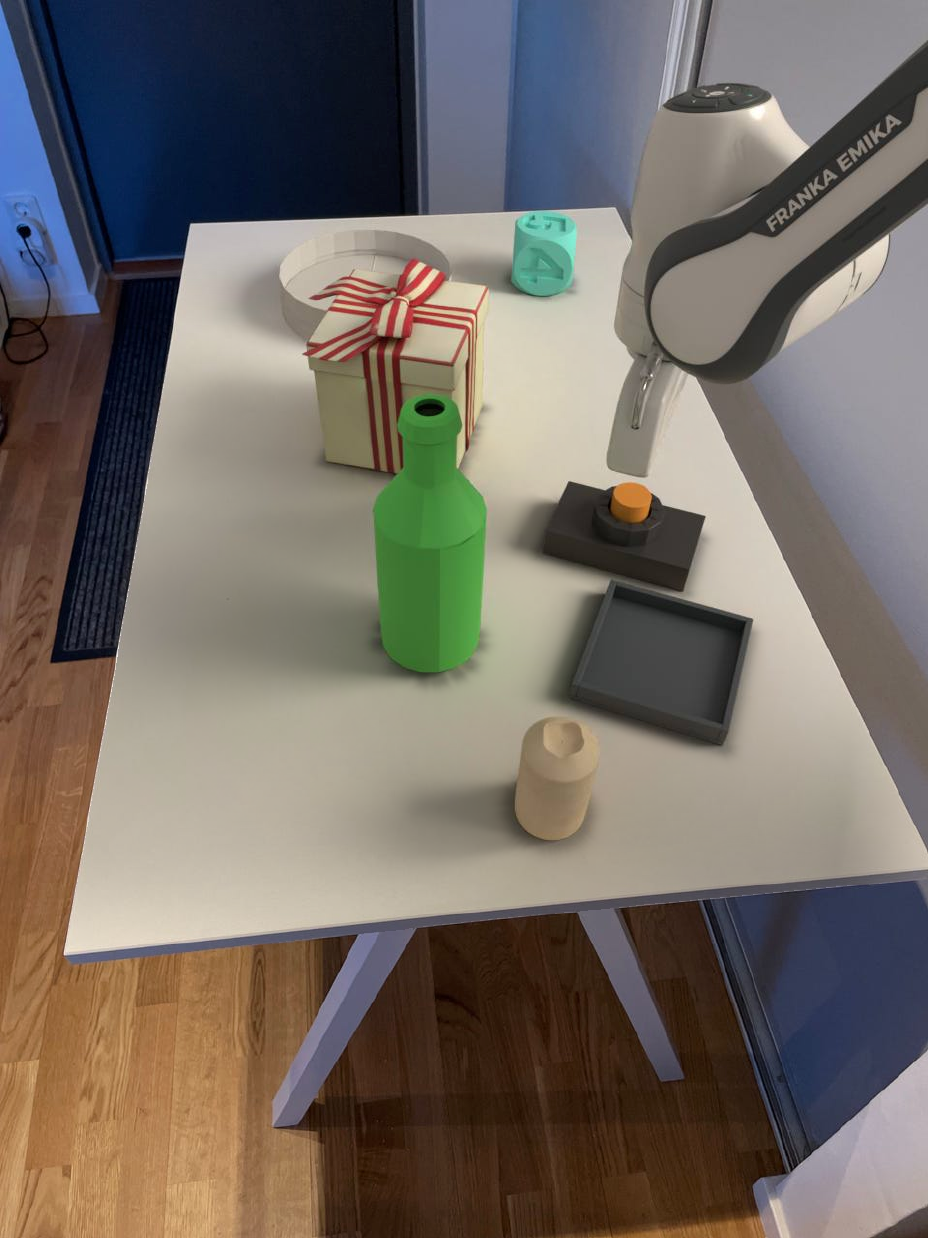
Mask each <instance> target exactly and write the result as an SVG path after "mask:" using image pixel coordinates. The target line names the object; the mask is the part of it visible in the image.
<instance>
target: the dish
mask: <svg viewBox="0 0 928 1238" xmlns="http://www.w3.org/2000/svg"><path fill="white" fill-rule="evenodd" d="M412 259H416V260H418V261H420V262H422V263H424V264H426V265H428V266H429V267H432V268H434V269H436V270H438V271H440V272H442V273H444V274H446V277H445V278H444V280H447V281H452V269H451V263H450V261H449V259H448V258H447V256H446V255H445V254H444V253H443V251H441V250H440V249H439V248H437V246H435V245H433V244H431V243H430V242H427V241H426V240H423V239H420V238H419V237H416V236H413V235H409V234H405V233H401V232H398V231H389V230H380V229H352V230H346V231H345V230H344V231H338V232H332V233H328V234H326V235H322V236H317V237H314V238H313V239H310V240H308V241H306V242H304V243H302V244H300V245H298V246H296V247H295V248H294V249H293V250H292V251H290V252H289V253H288V254H287V255H286V256H285V258H284V259H283V260H282V262H281V264H280V266H279V276H278V278H279V285H280V304H281V312H282V315H283V318H284V320H285V322H286V324H287V326H288V327H289V328H290V329H291V331H293V333H295V334H296V335H297V336H298V337H300V338H302V339H304V340H305V341H308V340H309V339H310V337H311V335H312V334H313V332H314V331H315V329H316V328H317V326H318V325H319V323H320V322H321V320H322V319H323V317H324V316H325V314H326V312H327V310H328V309H329V307H330V305H331V304H332V302H333V301H334V299H335V298H336V295H335V296H330V297H327V298H323V299H321V300H311V299H309V298H310V297H312V296H314V295H316V294H318V293H319V292H320V291H322V290H323V289H324V288H326V287H327V286H329V285H330V284H332V283H333V282H335V281H337V280H338V279H340V278H342V277H349V276H350V274H351V273H352V271H353V270H354V269H357V270H366V271H374V272H382V273H389V274H398V275H402V274H403V272H404V269H405V267H406V265H407V264H408V263H409V262H410V261H411V260H412Z"/></svg>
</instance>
